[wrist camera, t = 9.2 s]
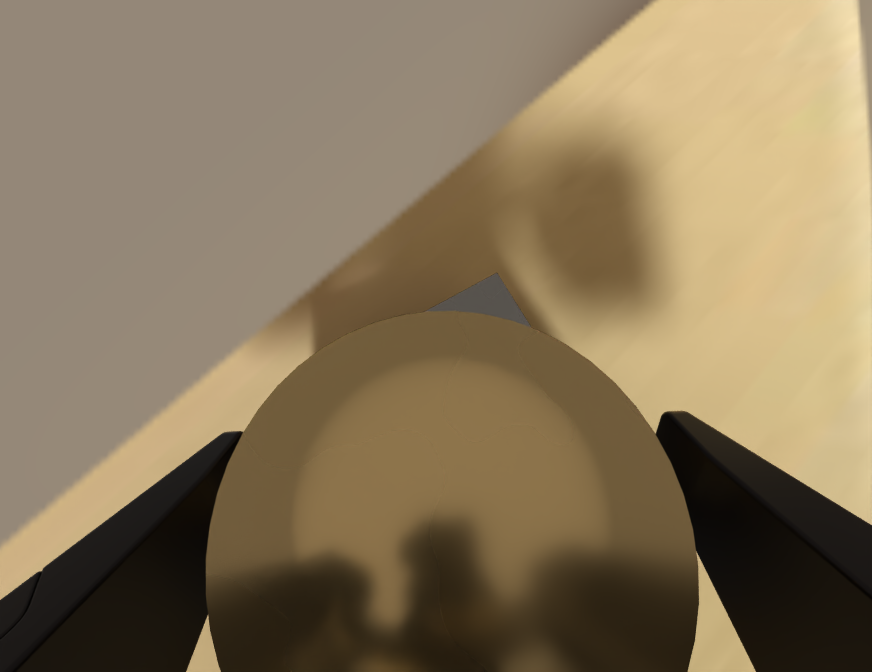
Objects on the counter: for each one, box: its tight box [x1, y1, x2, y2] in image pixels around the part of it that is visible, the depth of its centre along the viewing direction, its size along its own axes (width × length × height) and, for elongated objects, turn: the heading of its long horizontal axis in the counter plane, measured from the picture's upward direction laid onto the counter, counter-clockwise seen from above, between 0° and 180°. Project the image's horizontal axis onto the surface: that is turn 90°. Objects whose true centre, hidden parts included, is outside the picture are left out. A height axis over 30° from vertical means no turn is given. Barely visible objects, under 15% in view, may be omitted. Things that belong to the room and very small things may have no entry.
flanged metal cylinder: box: [206, 311, 699, 672], centre depth 10 cm, size 5×5×13 cm
